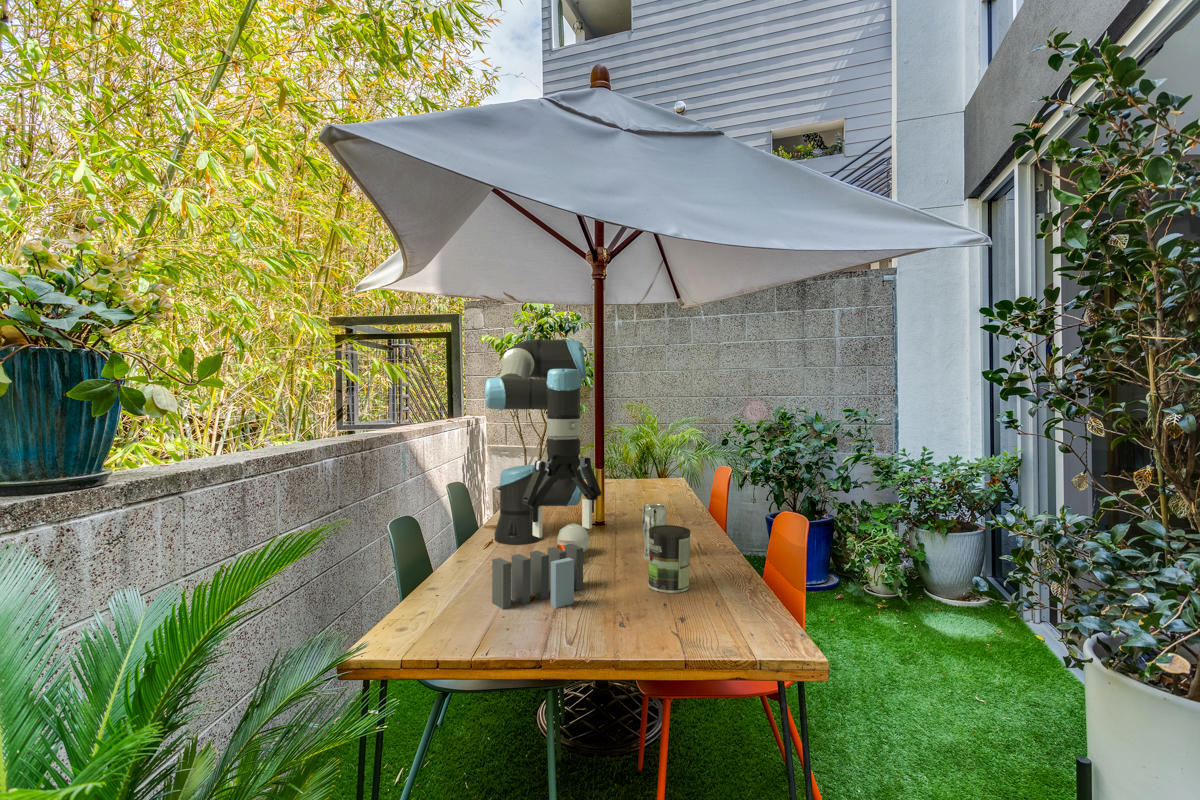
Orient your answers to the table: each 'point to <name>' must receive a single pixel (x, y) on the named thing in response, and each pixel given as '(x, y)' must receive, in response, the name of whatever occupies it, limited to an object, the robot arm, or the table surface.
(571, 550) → the domino
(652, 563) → the coffee can
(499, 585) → the domino
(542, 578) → the domino
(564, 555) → the domino
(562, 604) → the domino
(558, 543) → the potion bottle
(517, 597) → the domino
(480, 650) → the table surface
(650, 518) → the silver metal cylinder
